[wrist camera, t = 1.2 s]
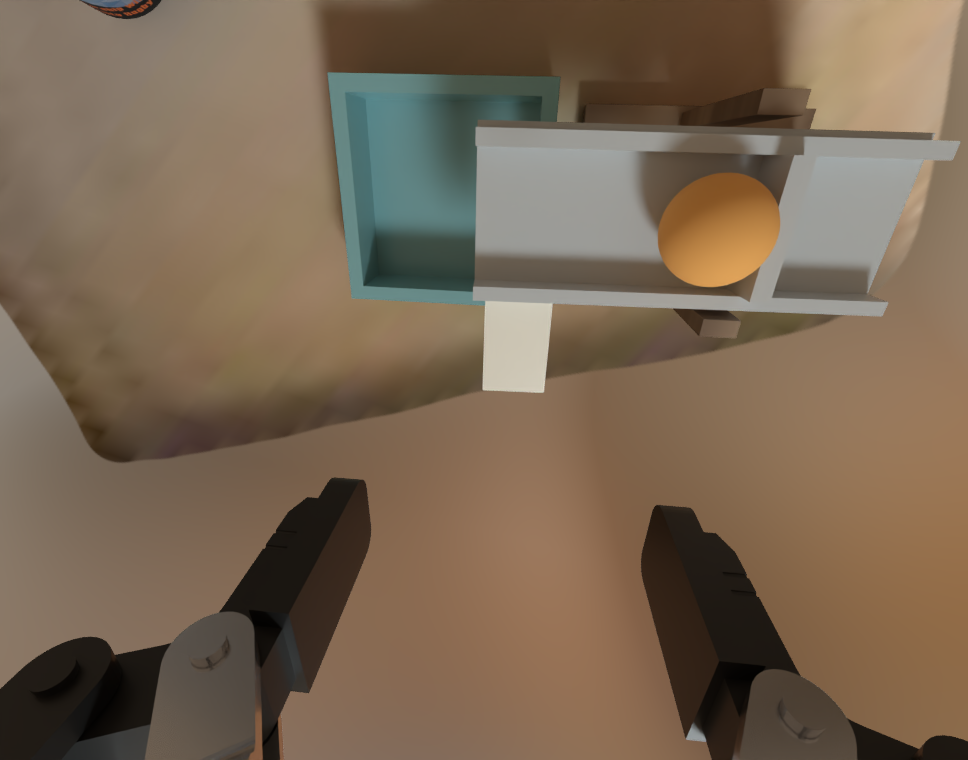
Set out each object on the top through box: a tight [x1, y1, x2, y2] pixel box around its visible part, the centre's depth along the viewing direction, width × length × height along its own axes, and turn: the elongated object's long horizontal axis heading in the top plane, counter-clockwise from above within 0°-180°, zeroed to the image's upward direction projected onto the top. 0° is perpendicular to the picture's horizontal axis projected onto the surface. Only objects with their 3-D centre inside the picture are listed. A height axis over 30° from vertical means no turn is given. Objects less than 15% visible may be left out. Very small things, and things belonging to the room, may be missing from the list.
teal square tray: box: [327, 72, 560, 306], centre depth 26 cm, size 12×12×4 cm
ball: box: [658, 172, 780, 287], centre depth 16 cm, size 4×4×4 cm
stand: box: [583, 88, 816, 338], centre depth 22 cm, size 12×10×10 cm
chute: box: [473, 120, 960, 393], centre depth 22 cm, size 17×12×10 cm
